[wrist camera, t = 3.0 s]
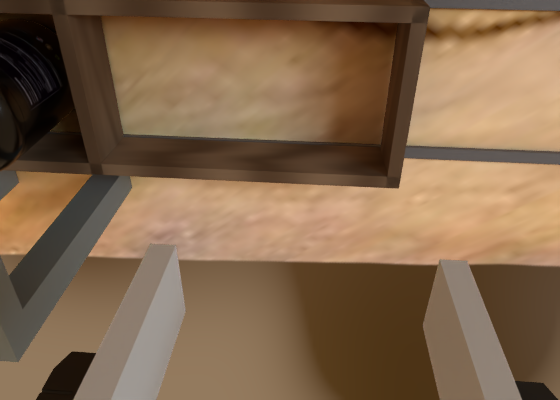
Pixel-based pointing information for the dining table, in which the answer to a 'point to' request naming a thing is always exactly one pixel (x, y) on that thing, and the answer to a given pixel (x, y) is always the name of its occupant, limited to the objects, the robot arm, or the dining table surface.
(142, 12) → the divided wooden tray
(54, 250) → the tunnel
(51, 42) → the supplement bottle
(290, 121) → the dining table surface
